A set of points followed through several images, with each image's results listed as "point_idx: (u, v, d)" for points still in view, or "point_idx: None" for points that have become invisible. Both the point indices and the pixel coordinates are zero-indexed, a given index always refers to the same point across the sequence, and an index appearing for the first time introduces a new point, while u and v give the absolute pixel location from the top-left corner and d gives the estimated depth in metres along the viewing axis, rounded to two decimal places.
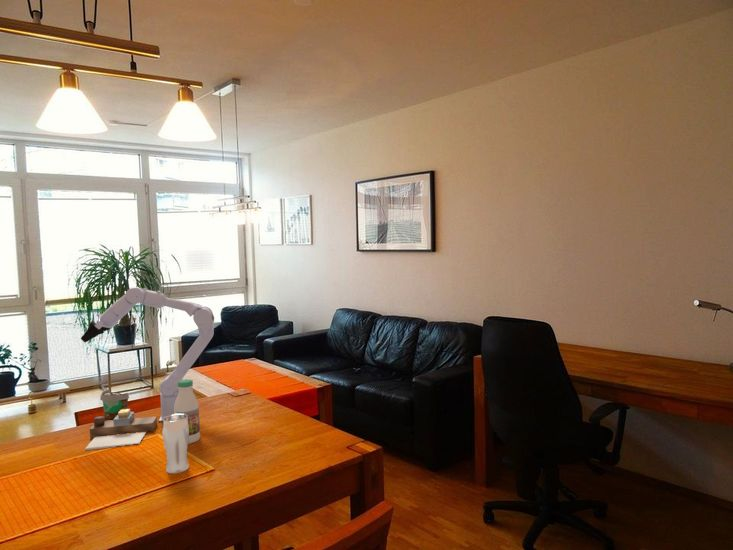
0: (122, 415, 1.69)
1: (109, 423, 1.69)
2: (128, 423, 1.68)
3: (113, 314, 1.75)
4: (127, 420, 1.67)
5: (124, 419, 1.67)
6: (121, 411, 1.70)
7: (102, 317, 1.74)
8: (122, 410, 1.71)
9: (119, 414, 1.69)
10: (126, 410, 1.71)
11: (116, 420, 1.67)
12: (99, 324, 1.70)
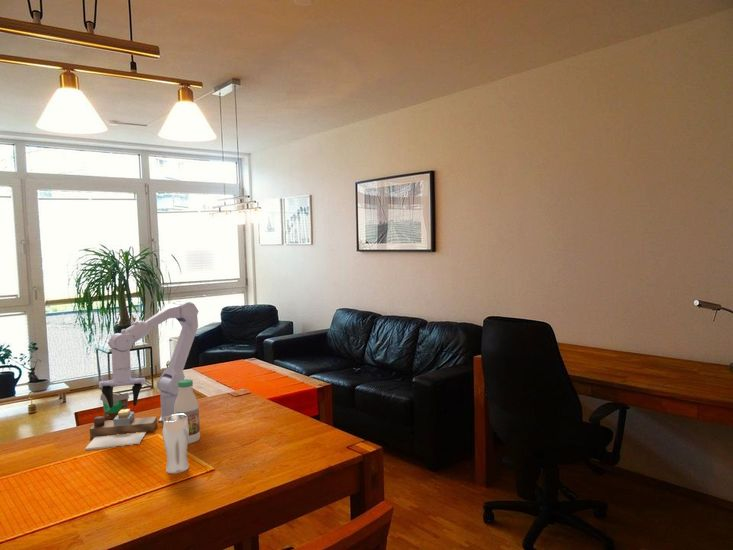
0: (122, 415, 1.69)
1: (109, 423, 1.69)
2: (128, 423, 1.68)
3: (130, 368, 1.70)
4: (127, 420, 1.67)
5: (124, 419, 1.67)
6: (121, 411, 1.70)
7: (128, 379, 1.69)
8: (122, 410, 1.71)
9: (119, 414, 1.69)
10: (126, 410, 1.71)
11: (116, 420, 1.67)
12: (144, 379, 1.71)
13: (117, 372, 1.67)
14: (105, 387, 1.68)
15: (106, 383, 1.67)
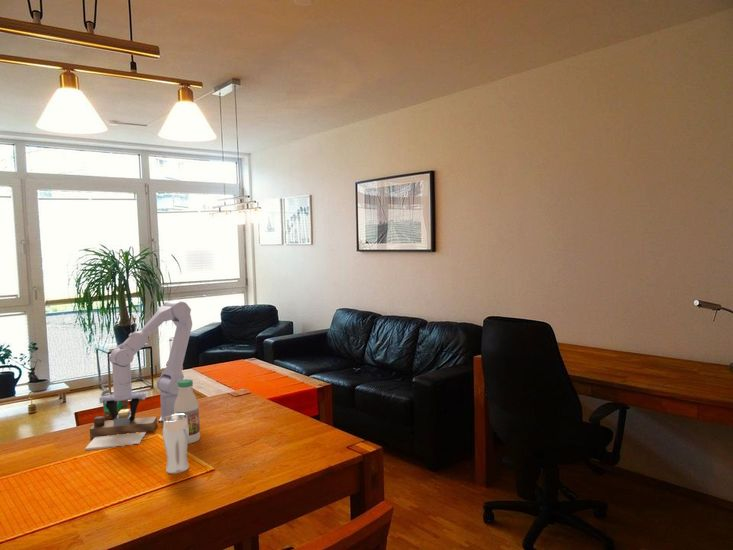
0: (122, 415, 1.69)
1: (109, 423, 1.69)
2: (128, 423, 1.68)
3: None
4: (127, 420, 1.67)
5: (124, 419, 1.67)
6: (121, 411, 1.70)
7: (128, 394, 1.69)
8: (122, 410, 1.71)
9: (119, 414, 1.69)
10: (126, 410, 1.71)
11: (116, 420, 1.67)
12: (145, 394, 1.72)
13: (118, 387, 1.67)
14: None
15: (107, 398, 1.67)
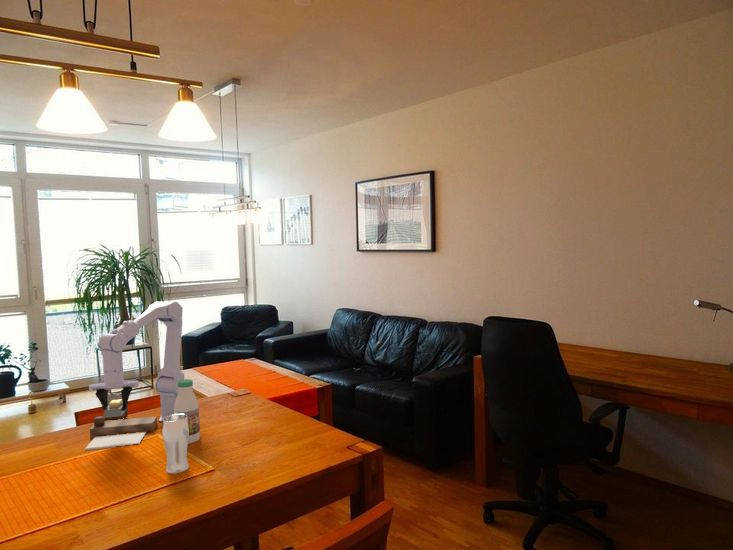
0: (113, 405, 1.59)
1: (109, 423, 1.69)
2: (120, 414, 1.58)
3: (122, 370, 1.61)
4: (119, 411, 1.58)
5: (115, 410, 1.57)
6: (112, 401, 1.60)
7: (120, 382, 1.59)
8: (113, 400, 1.61)
9: (110, 404, 1.59)
10: (118, 400, 1.61)
11: (107, 411, 1.57)
12: (137, 382, 1.61)
13: (108, 375, 1.57)
14: (96, 391, 1.58)
15: (97, 386, 1.57)
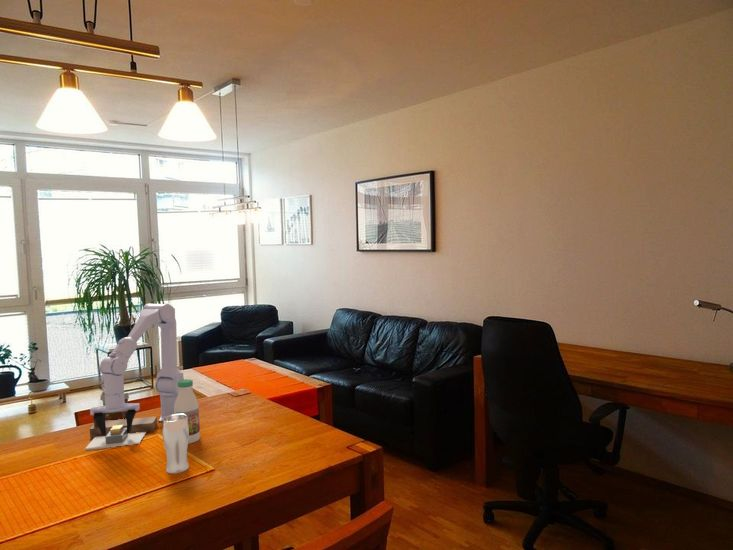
0: (114, 431, 1.59)
1: (109, 423, 1.69)
2: (121, 440, 1.58)
3: None
4: (120, 437, 1.58)
5: (117, 436, 1.58)
6: (114, 427, 1.61)
7: (121, 405, 1.59)
8: (115, 426, 1.62)
9: (111, 431, 1.59)
10: (119, 426, 1.62)
11: (108, 437, 1.57)
12: (138, 405, 1.62)
13: (110, 398, 1.57)
14: (97, 414, 1.58)
15: (98, 410, 1.58)
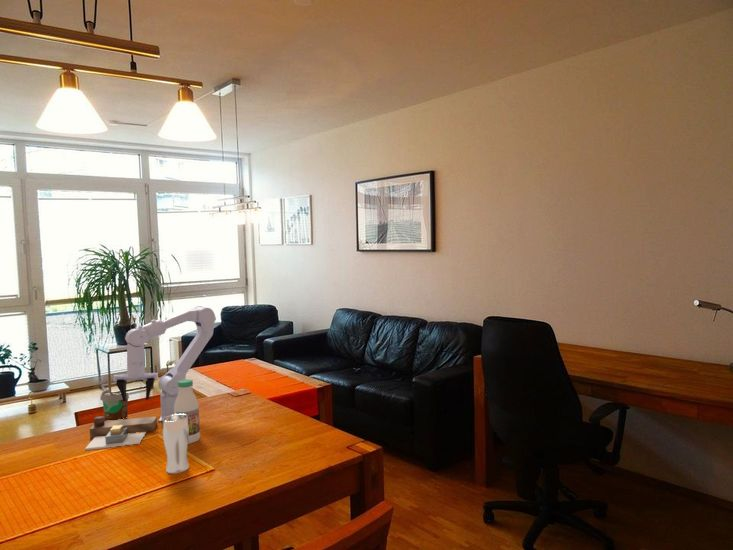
0: (114, 431, 1.59)
1: (109, 423, 1.69)
2: (121, 440, 1.58)
3: (144, 363, 1.76)
4: (120, 437, 1.58)
5: (117, 436, 1.58)
6: (114, 427, 1.61)
7: (141, 373, 1.74)
8: (115, 426, 1.62)
9: (111, 431, 1.59)
10: (119, 426, 1.62)
11: (108, 437, 1.57)
12: (157, 374, 1.77)
13: (132, 366, 1.73)
14: (119, 381, 1.73)
15: (121, 377, 1.73)
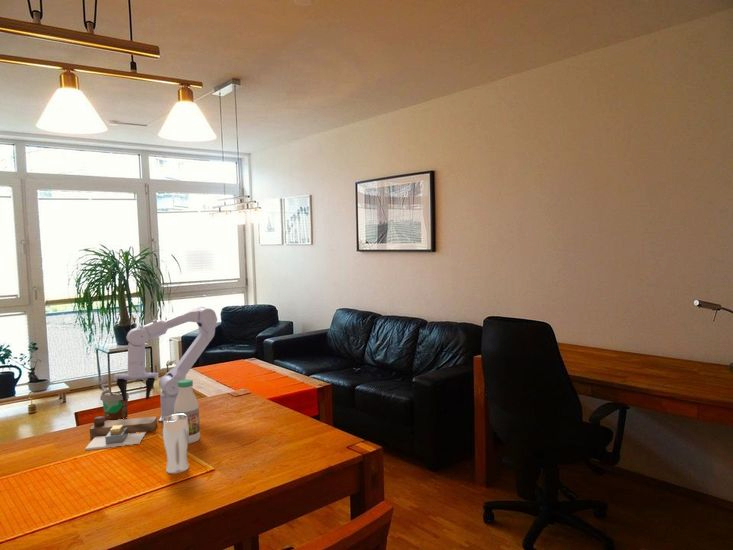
0: (114, 431, 1.59)
1: (109, 423, 1.69)
2: (121, 440, 1.58)
3: None
4: (120, 437, 1.58)
5: (117, 436, 1.58)
6: (114, 427, 1.61)
7: (142, 373, 1.75)
8: (115, 426, 1.62)
9: (111, 431, 1.59)
10: (119, 426, 1.62)
11: (108, 437, 1.57)
12: (157, 374, 1.78)
13: (132, 366, 1.73)
14: (120, 380, 1.74)
15: (121, 376, 1.74)
